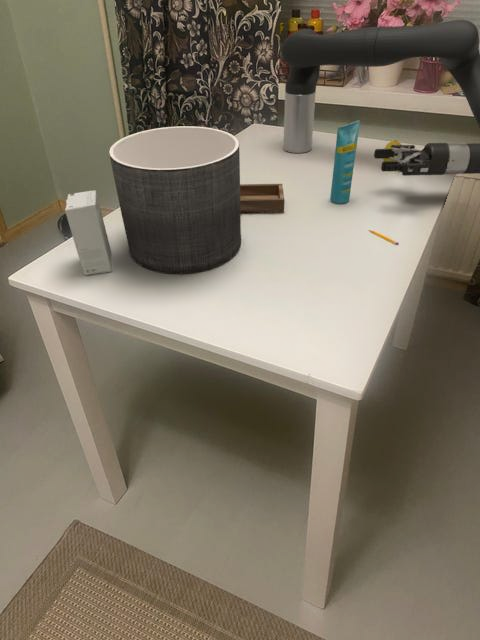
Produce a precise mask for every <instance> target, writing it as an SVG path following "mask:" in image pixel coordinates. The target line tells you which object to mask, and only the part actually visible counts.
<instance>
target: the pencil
mask: <svg viewBox="0 0 480 640" xmlns="http://www.w3.org/2000/svg"><path fill="white" fill-rule="evenodd" d="M368 232H370V233H371V234H373V235H374V236H377V237H378V238H381V239H383V240H385V241H386V242H389V243H391V244H393V245H395V246H399V244H400V243H399V242H397V241H395V240H393V239H392V238H390V237H388V236H385V235H384V234H381V233H379V232H377V231H375V230H370V229H368Z"/></svg>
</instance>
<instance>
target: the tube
mask: <svg viewBox="0 0 480 640" xmlns="http://www.w3.org/2000/svg"><path fill="white" fill-rule="evenodd" d="M360 123H361V122H360V119H358V120H356V121H354V122H351V123H348V124H346V125H342V126H338V127H337V134H336V139H335V140H336V141H335V148H334V149H335V150H334V161H333V168H332V170H333V171H332V180H331V188H330V198H329V199H330V201H331V202H332V203H335V204H337V205H338V204H339V205H341V204H347V203H349V202H350V198H351V197H350V196H351V191H352V190H351V189H352V181H353V174H354V166H355V159H356V153H357V148H358V147H357V146H358V139H359V131H360Z"/></svg>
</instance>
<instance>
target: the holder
mask: <svg viewBox="0 0 480 640" xmlns="http://www.w3.org/2000/svg"><path fill="white" fill-rule="evenodd" d="M284 193H285V192H284V187H283V183H257V184H256V183H249V184H247V183H245V184H242V183H240V210H241V215H242V214H243V215H245V214H246V215H247V214H250V215H254V214H258V215H259V214H284V213H285V195H284Z"/></svg>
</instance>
